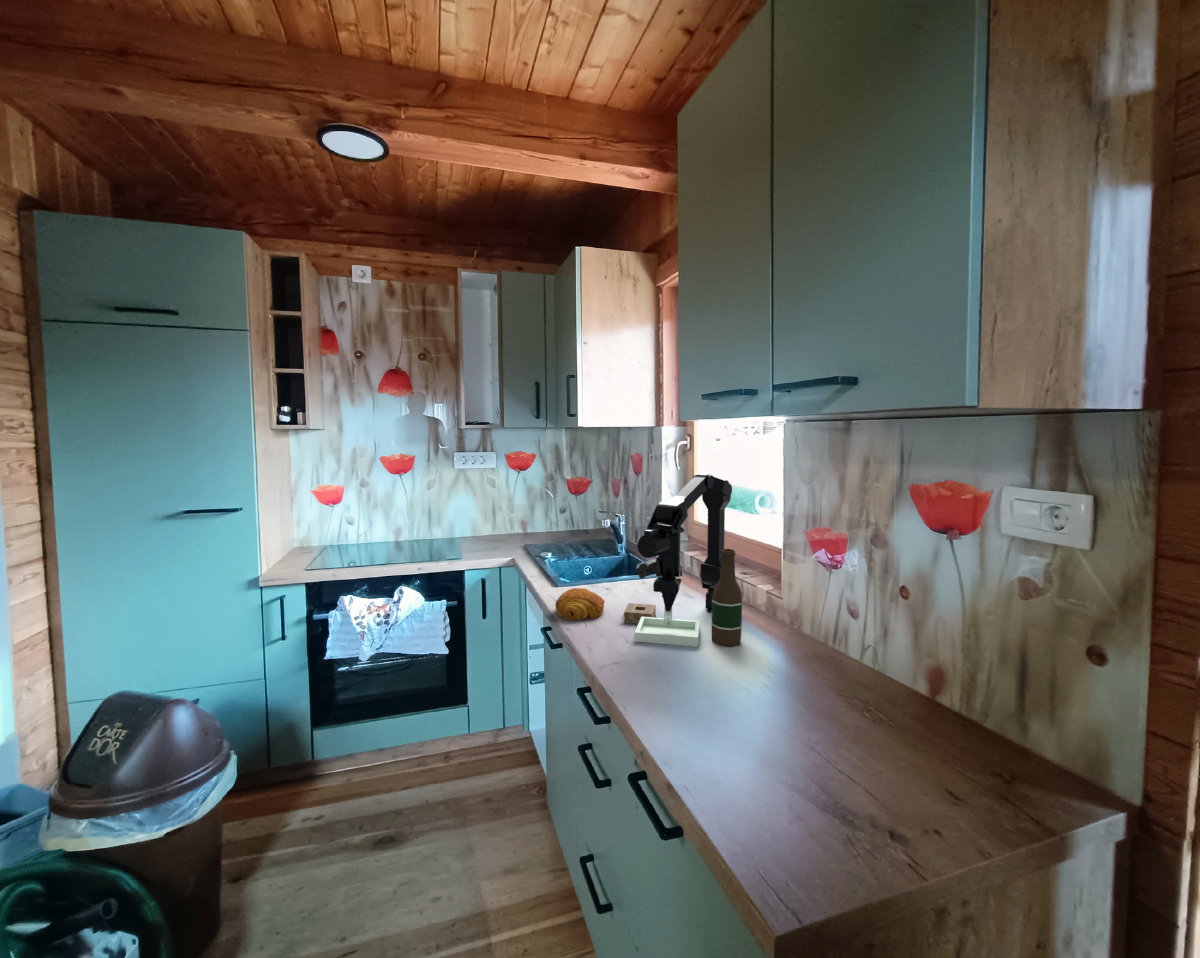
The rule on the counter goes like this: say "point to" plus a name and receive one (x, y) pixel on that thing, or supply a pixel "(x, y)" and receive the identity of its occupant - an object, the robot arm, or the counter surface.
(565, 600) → the croissant
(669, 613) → the pin
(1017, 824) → the counter surface
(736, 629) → the beer bottle
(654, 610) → the block
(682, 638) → the tray
